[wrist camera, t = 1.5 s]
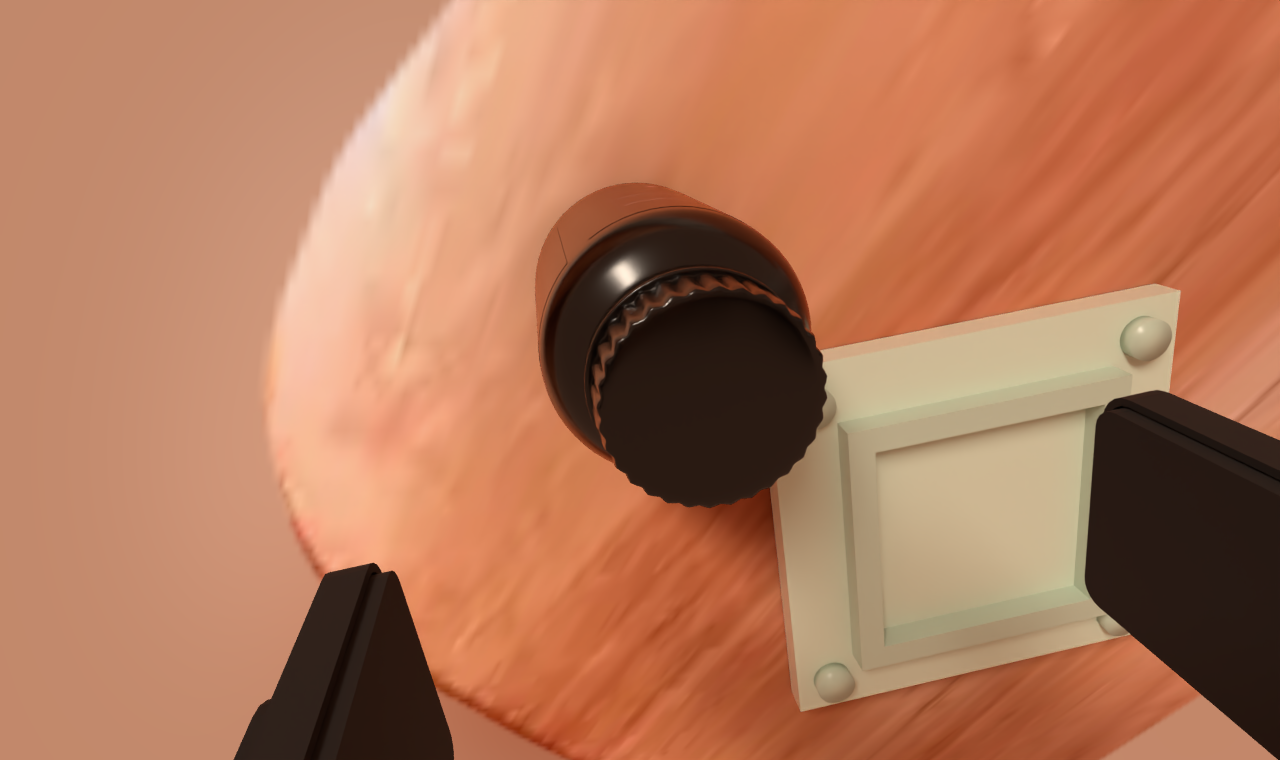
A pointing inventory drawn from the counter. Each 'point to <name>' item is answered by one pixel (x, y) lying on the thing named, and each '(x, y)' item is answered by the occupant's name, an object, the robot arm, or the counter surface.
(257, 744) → the robot arm
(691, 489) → the supplement bottle
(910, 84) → the counter surface
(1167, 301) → the seating plate
